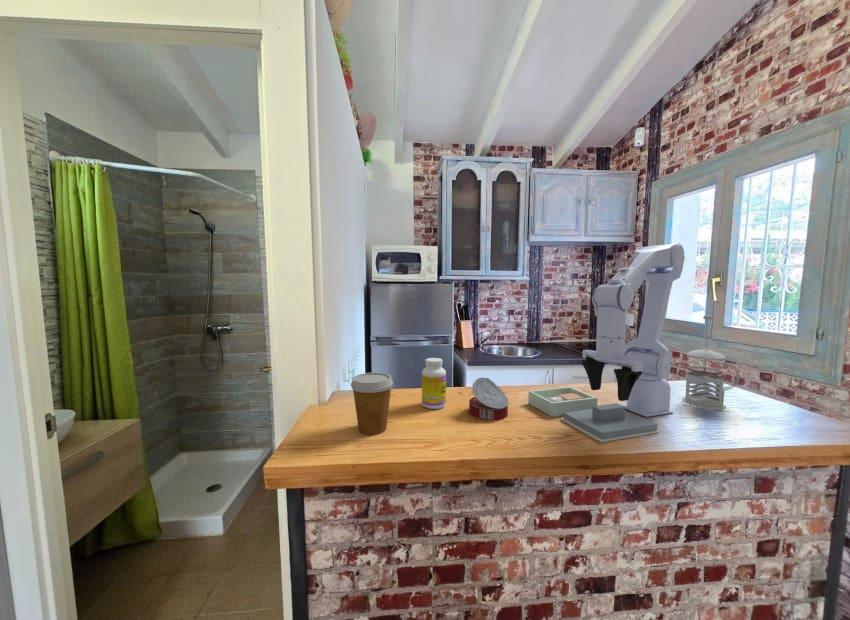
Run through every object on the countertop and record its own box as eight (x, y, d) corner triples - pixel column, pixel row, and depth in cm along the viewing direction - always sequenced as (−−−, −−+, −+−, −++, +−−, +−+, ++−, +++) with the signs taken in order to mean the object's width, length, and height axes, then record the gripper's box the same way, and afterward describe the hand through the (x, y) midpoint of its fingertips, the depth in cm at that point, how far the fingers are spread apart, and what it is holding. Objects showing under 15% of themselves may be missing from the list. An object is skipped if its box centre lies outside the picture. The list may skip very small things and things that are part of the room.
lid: (613, 411, 81) (613, 395, 80) (657, 430, 70) (657, 411, 69) (563, 418, 76) (564, 401, 76) (601, 439, 65) (602, 419, 65)
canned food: (496, 423, 85) (513, 391, 85) (502, 436, 75) (521, 400, 75) (459, 403, 87) (476, 371, 87) (460, 413, 76) (479, 377, 76)
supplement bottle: (444, 410, 82) (444, 362, 81) (419, 409, 84) (419, 361, 83) (447, 402, 89) (447, 357, 88) (424, 400, 90) (424, 356, 89)
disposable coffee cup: (400, 423, 74) (399, 373, 74) (381, 441, 65) (381, 385, 65) (364, 418, 78) (364, 370, 77) (342, 434, 69) (341, 381, 68)
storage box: (569, 398, 92) (569, 386, 91) (597, 410, 82) (597, 397, 82) (528, 403, 88) (528, 391, 87) (552, 416, 78) (552, 403, 78)
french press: (679, 395, 94) (683, 313, 92) (732, 403, 87) (737, 314, 86) (681, 405, 86) (686, 315, 84) (741, 415, 79) (746, 317, 78)
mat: (612, 412, 81) (612, 410, 81) (658, 432, 69) (658, 430, 69) (561, 419, 76) (561, 418, 76) (601, 442, 65) (601, 440, 65)
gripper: (573, 333, 78) (571, 386, 78) (625, 342, 64) (623, 407, 64) (595, 332, 79) (594, 384, 80) (651, 340, 66) (648, 403, 66)
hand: (608, 394), depth 73 cm, fingers open, 7 cm apart
